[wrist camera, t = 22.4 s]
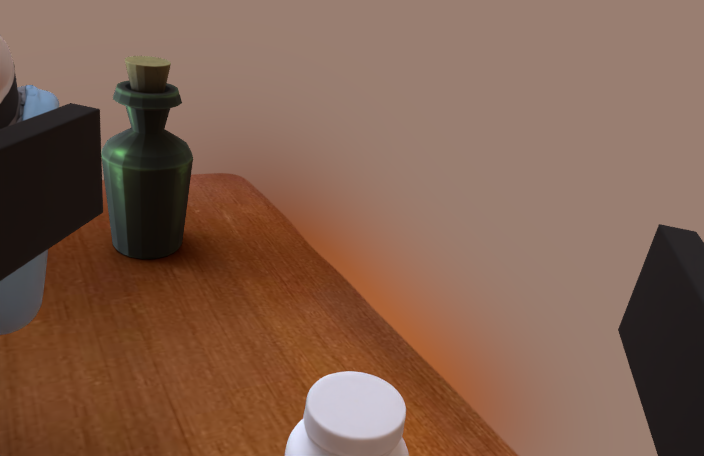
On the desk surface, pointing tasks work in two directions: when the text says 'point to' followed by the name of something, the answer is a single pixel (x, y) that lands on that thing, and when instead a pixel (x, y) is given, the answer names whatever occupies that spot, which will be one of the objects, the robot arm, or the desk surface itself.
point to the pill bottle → (350, 418)
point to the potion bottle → (147, 165)
